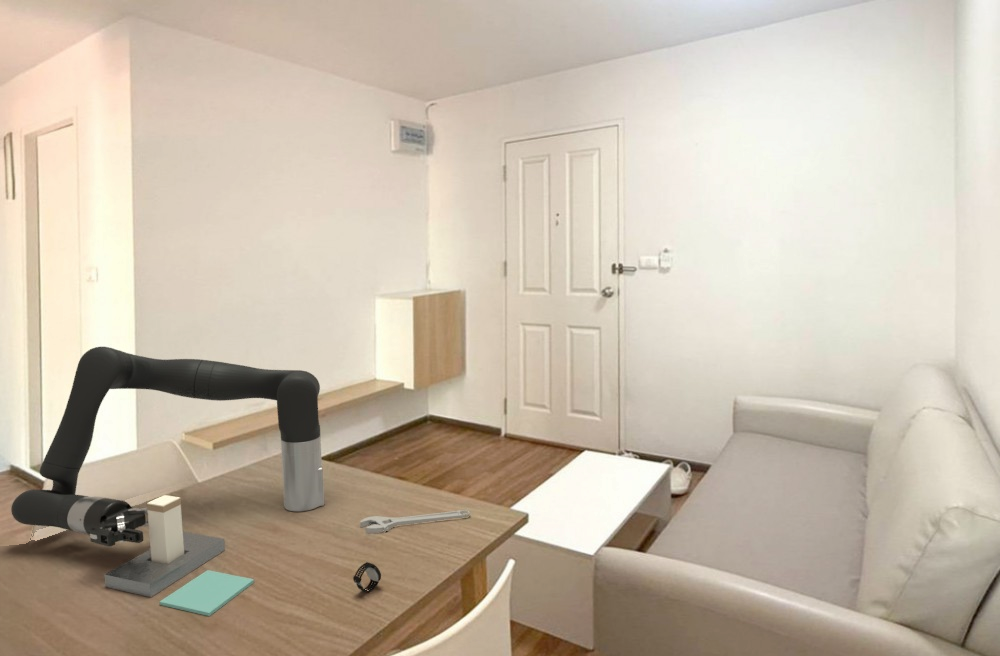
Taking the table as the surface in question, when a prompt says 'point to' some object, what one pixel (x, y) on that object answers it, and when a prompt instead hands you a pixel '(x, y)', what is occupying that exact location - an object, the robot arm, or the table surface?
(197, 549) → the socket plate
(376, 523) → the adjustable wrench
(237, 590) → the mat
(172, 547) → the post
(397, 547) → the table surface
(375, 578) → the smartwatch
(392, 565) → the table surface
